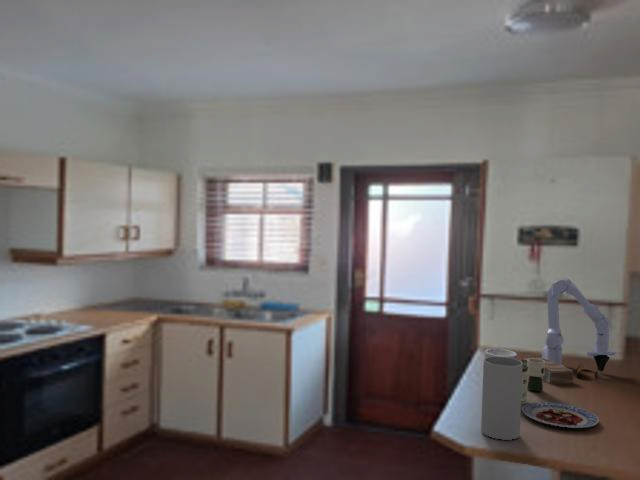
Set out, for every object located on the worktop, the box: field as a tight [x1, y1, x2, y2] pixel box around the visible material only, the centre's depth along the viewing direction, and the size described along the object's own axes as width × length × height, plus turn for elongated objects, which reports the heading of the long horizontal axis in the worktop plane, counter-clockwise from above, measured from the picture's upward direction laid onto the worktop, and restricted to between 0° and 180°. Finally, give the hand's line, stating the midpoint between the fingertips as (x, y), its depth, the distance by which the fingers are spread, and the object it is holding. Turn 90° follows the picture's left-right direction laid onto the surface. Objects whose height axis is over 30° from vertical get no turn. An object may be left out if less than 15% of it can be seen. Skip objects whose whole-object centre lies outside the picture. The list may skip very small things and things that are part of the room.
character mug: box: [527, 357, 545, 392], centre depth 241 cm, size 11×7×13 cm, turn 157°
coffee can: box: [521, 365, 528, 405], centre depth 227 cm, size 10×10×14 cm
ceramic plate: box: [522, 401, 600, 429], centre depth 207 cm, size 26×26×3 cm
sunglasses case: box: [576, 363, 597, 382], centre depth 267 cm, size 18×7×7 cm, turn 154°
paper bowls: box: [484, 348, 518, 360], centre depth 276 cm, size 15×15×8 cm
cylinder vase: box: [480, 357, 523, 441], centre depth 191 cm, size 12×12×25 cm
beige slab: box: [521, 357, 574, 385], centre depth 263 cm, size 22×11×6 cm, turn 14°
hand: (600, 370), depth 270 cm, fingers closed
